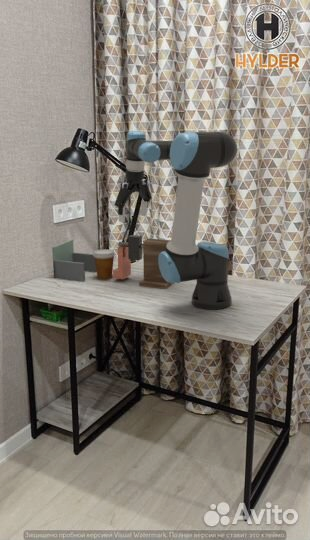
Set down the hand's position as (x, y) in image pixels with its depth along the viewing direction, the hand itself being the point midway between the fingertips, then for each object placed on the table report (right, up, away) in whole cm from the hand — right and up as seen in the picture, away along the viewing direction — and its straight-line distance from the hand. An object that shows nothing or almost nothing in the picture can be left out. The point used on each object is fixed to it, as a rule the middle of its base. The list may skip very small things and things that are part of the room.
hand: (132, 218), depth 229 cm
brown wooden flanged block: (+11, -28, -1) cm, 30 cm away
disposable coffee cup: (-13, -26, +8) cm, 30 cm away
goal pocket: (-25, -24, +13) cm, 37 cm away
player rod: (+7, -26, 0) cm, 27 cm away
